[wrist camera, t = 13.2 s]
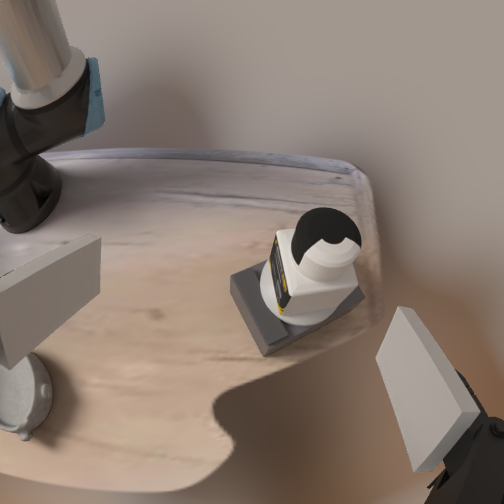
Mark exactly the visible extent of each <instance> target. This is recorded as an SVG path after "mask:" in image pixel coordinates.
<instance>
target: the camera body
mask: <svg viewBox="0 0 504 504" xmlns="http://www.w3.org/2000/svg"><path fill="white" fill-rule="evenodd" d="M230 293H231V295H232V297H233V299H234V301H235V303H236V305H237V307H238V309H239V311H240V313H241V315H242V317H243V319H244V321H245V323H246V325H247V327H248V329H249V331H250V333H251V334H252V336H253V338H254V340H255V342H256V344H257V346H258V348H259V350H260V352H261V354H262V356H263V357H264V356H266V355H268V354H270V353H272V352H274V351H276V350H278V349H280V348H282V347H284V346H286V345H288V344H290V343H292V342H294V341H296V340H298V339H300V338H302V337H304V336H306V335H308V334H310V333H311V332H313V331H315V330H317V329H319V328H321V327H323V326H324V325H326V324H328V323H330V322H332V321H334V320H335V319H337V318H339V317H341V316H342V315H344V314H346V313H348V312H350V311H351V310H352V309H353V308H354V307H355V306H356V305H358V304H359V303H360V302H361V301H362V300H363V299H364V298H365V296H364V294H363V293H362V291H361V290H360V288H359V286H357V287H356V288H355V289H354V290H353V291H352V292H351V293H350V294H349V295H348V296H347V297H346V298H345V299H344V300H343V301H342V302H341V303H340V304H339V305H338V306H337V307H333V308H328V309H322V310H316V311H310V312H303V313H297V314H290V315H284V316H281V315H280V314H279V310H278V305H277V300H276V295H275V290H274V284H273V279H272V274H271V269H270V264H269V259H268V260H266V261H264V262H261V263H259V264H257V265H254V266H252V267H250V268H247V269H245V270H243V271H240V272H238V273H236V274H233V275H231V278H230Z"/></svg>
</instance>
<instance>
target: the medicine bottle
mask: <svg viewBox="0 0 504 504" xmlns="http://www.w3.org/2000/svg"><path fill="white" fill-rule="evenodd" d="M360 250H361V235H360V232H359V230H358V228H357V226H356V224H355V223H354V222H353V221H352V220H351V219H350V218H349V217H348V216H347V215H346V214H344V213H342V212H341V211H338V210H336V209H332V208H324V207H322V208H315V209H312V210H310V211H308V212H306V213H305V214H304V215H303V216H302V217H301V218H300V220H299V221H298V224H297V226H296V228H295V229H285V230H278V231H277V232H276V236H275V240H274V243H273V247H272V251H271V255H270V258H269V264H270V269H271V274H272V279H273V284H274V290H275V295H276V300H277V305H278V310H279V314H280V315H281V316H284V315H290V314H297V313H303V312H310V311H316V310H322V309H328V308H333V307H337V306H338V305H339V304H340V303H341V302H342V301H343V300H344V299H345V298H346V297H347V296H348V295H349V294H350V293H351V292H352V291H353V290H354V289H355V288H356V287H357V286H358V280H357V277H356V273H355V270H354V266H353V261H354V260H355V259H356V257H357V256H358V254H359V252H360Z"/></svg>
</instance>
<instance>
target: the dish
mask: <svg viewBox="0 0 504 504" xmlns="http://www.w3.org/2000/svg"><path fill="white" fill-rule="evenodd" d="M52 399H53V388H52V383H51V379H50V376H49V374H48V371H47V369H46V368H45V366H44V365H43V363H42V362H41V361H40V359H39V358H38V357H37V356H36V355H35V354H33V353H32V352H30V353H29V354H28V355H27V356H26V357H24V358H23V359H22V360H21V361H20V362H19V363H18V364H17V365H16V366H15V367H14V368H12V369H11V370H8V369H6V368H5V367H3V366H2V365H0V429H2V430H4V431H7V432H12V433H18V434H19V437H20V440H21V441H29V440H30V439H31V438H32V436H33V434H32V431H31V430H33V429H35V428H36V427H38V426H39V425H40V424H41V423H42V422H43V421H44V419H45V418H46V417H47V415H48V413H49V411H50V408H51V405H52Z"/></svg>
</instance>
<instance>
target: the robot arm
mask: <svg viewBox="0 0 504 504" xmlns="http://www.w3.org/2000/svg"><path fill="white" fill-rule="evenodd" d="M0 58H1V60H2V62H3V64H4V66H5V67H6V69H7V71H8V72H9V74H10V76H11V78H12V79H13V81H14V82H13V84H12V87H11V92H10V93H8V94H6V92H5V90H4V89H3V88H1V87H0V224H1V226H2V227H3V228H4V229H5V230H7V231H8V232H11V233H22V232H25V231H28V230H30V229H32V228H34V227H35V226H37V225H38V224H40V223H41V222H42V221H43V220H44V219H45V218H46V217H47V216H48V215H49V214H50V212H51V211H52V210H53V208H54V207H55V205H56V203H57V201H58V199H59V196H60V193H61V179H60V177H59V175H58V173H57V171H56V169H55V168H54V167H53V166H52V165H51V164H50V163H48V162H47V161H46V160H44V159H43V158H42V157H40V156H39V155H38V154H40V153H42V152H45V151H47V150H49V149H52V148H54V147H57V146H59V145H62V144H65V143H67V142H70V141H72V140H75V139H78V138H80V137H84V136H85V135H86V134H88V133H90V132H93V131H95V130H98V129H99V128H100V127H102V125H103V124H104V121H105V113H104V105H103V98H102V92H101V82H100V74H99V67H98V60H97V59H96V58H94V57H93V58H89V57H88V58H85V56H84V54H83V52H82V51H81V50H80V49H78V48H76V47H72V46H69V43H68V40H67V37H66V34H65V30H64V28H63V24H62V21H61V18H60V15H59V11H58V8H57V4H56V1H55V0H0ZM101 238H102V237H98V236H94V235H90V234H87V235H84V236H82V237H80V238H78V239H76V240H74V241H72V242H69V243H67V244H65V245H63V246H61V247H59V248H57V249H55V250H53V251H51V252H49V253H47V254H45V255H43V256H41V257H39V258H37V259H35V260H33V261H31V262H29V263H27V264H25V265H23V266H22V267H20V268H18V269H16V270H13V271H11V272H9V273H7V274H5V275H4V276H3V277H0V365H2V366H3V367H5V368H6V369H8V370H11V369H12V368H14V367H15V366H16V365H17V364H18V363H19V362H20V361H21V360H22V359H23V358H24V357H26V356H27V355H28V354H29V353H30V352H31V351H32V350H33V349H35V348H36V347H37V346H38V345H39V344H40V343H41V342H42V341H44V340H45V339H46V338H47V337H48V336H49V335H50V334H52V333H53V332H54V331H55V330H56V329H57V328H59V327H60V326H61V325H62V324H63V323H64V322H66V321H67V320H68V319H69V318H70V317H71V316H73V315H74V314H75V313H76V312H77V311H79V310H80V309H81V308H82V307H83V306H85V305H86V304H87V303H88V302H90V301H91V300H92V299H93V298H94V297H96V296H97V295H98V294H99V293H100V262H101ZM376 361H377V364H378V366H379V369H380V372H381V374H382V377H383V380H384V383H385V386H386V388H387V391H388V394H389V397H390V400H391V403H392V406H393V409H394V412H395V414H396V418H397V421H398V424H399V427H400V430H401V433H402V436H403V439H404V443H405V446H406V449H407V452H408V455H409V459H410V462H411V465H412V469H413V472H414V473H418V472H430V471H433V470H434V469H435V468H436V467H437V466H438V465H439V463H440V462H441V461H442V460H443V461H444V464H445V467H446V468H445V469H444V470H443V471H442V472H441V473H440V474H439V476H437V477H436V478H435V480H434V481H433V482H432V483H431V484H430V485H429V486H428V487H427V488H429V489H430V488H431V487H432V486H433V485H434V487H433V488H432V490H431V492H430V494H429V496H428V498H427V500H426V501H425V503H424V504H504V421H503V420H502V419H500V418H497V417H488V415H487V413H486V412H485V410H484V408H483V407H482V405H481V403H480V402H479V400H478V399H477V397H476V395H474V392H473V390H472V389H471V388H469V384H468V383H467V381H466V379H465V378H464V377H463V376H462V375H461V374H460V373H459V372H458V371H457V370H456V369H454V368H453V366H452V365H451V363H450V362H449V360H448V359H447V357H446V356H445V354H444V353H443V351H442V350H441V348H440V347H439V345H438V344H437V342H436V341H435V339H434V338H433V337H432V335H431V334H430V332H429V331H428V329H427V328H426V327H425V325H424V324H423V322H422V321H421V320H420V318H419V317H418V315H417V314H416V313H415V311H414V310H413V309H412V308H407V307H402V306H398V307H397V310H396V312H395V314H394V317H393V319H392V322H391V324H390V326H389V329H388V331H387V333H386V336H385V338H384V340H383V342H382V345H381V347H380V349H379V351H378V354H377V356H376Z"/></svg>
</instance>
